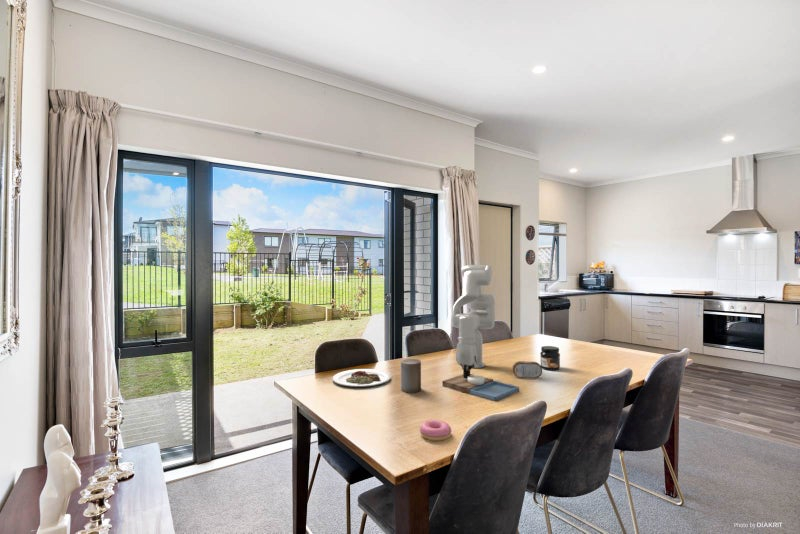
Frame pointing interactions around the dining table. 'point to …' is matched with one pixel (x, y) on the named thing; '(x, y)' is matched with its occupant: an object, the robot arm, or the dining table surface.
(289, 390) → the dining table surface
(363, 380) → the plated food
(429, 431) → the doughnut
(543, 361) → the supplement container
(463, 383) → the wooden cutting board
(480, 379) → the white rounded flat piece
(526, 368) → the tin
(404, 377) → the pillar candle
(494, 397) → the tray
